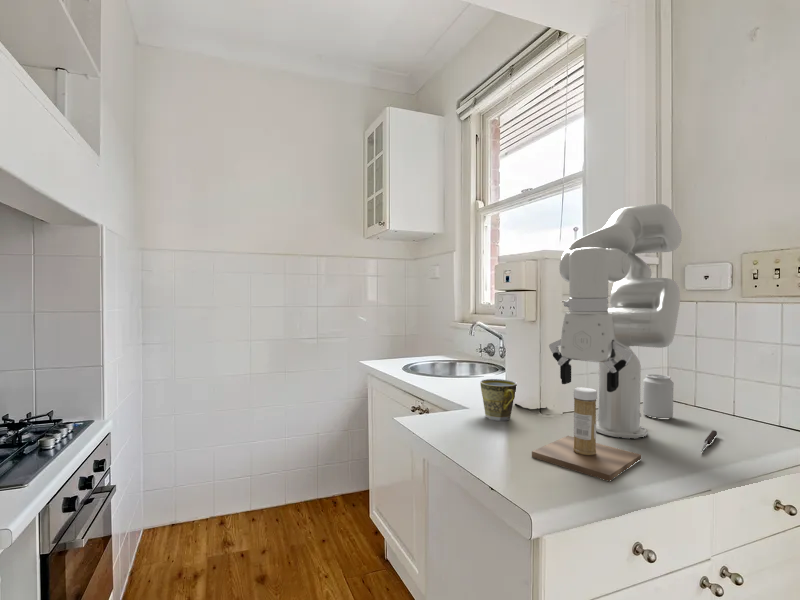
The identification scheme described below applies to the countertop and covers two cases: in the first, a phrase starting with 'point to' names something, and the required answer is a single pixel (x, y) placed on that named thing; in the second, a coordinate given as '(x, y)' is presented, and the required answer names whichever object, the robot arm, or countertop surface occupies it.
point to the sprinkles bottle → (585, 421)
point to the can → (658, 396)
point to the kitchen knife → (709, 438)
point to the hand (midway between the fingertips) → (588, 386)
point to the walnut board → (587, 458)
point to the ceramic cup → (498, 398)
